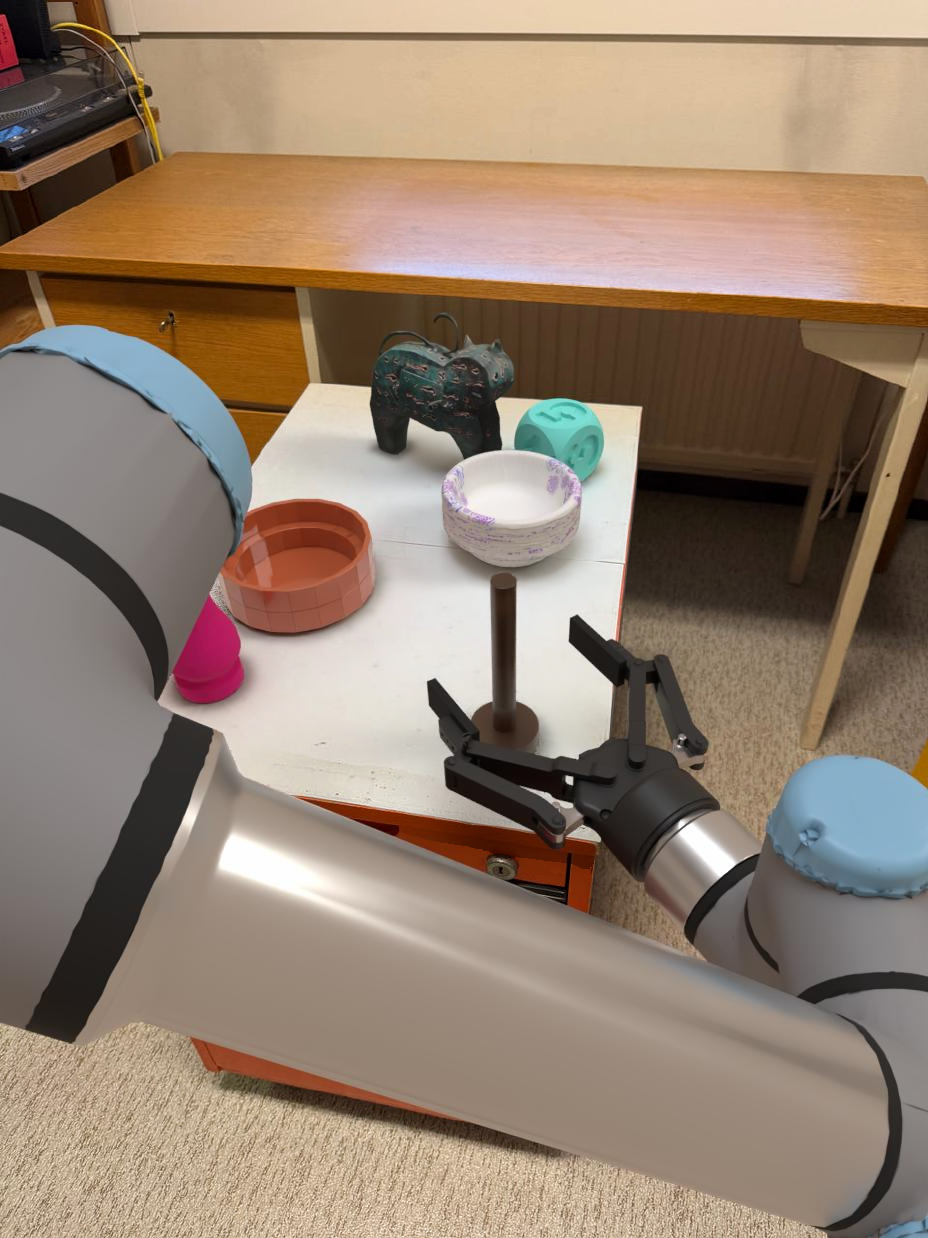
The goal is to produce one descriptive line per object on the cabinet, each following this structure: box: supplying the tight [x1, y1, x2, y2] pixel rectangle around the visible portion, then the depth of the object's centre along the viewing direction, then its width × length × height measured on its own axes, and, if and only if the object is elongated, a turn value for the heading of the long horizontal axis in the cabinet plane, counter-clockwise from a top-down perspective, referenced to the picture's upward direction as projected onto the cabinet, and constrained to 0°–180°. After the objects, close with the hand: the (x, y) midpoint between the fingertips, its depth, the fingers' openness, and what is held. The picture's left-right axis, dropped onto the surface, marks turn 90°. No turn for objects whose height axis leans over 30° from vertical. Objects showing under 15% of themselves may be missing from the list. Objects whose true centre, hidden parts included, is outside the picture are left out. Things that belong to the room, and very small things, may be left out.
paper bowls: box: [441, 449, 583, 568], centre depth 97 cm, size 15×15×8 cm
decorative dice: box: [513, 397, 605, 482], centre depth 109 cm, size 8×8×8 cm
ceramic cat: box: [369, 312, 515, 461], centre depth 107 cm, size 20×6×20 cm, turn 54°
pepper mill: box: [171, 593, 245, 704], centre depth 78 cm, size 7×7×20 cm
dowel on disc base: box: [470, 571, 540, 754], centre depth 72 cm, size 6×6×18 cm
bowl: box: [217, 498, 377, 633], centre depth 93 cm, size 16×16×6 cm
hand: (504, 658), depth 71 cm, fingers open, 13 cm apart
